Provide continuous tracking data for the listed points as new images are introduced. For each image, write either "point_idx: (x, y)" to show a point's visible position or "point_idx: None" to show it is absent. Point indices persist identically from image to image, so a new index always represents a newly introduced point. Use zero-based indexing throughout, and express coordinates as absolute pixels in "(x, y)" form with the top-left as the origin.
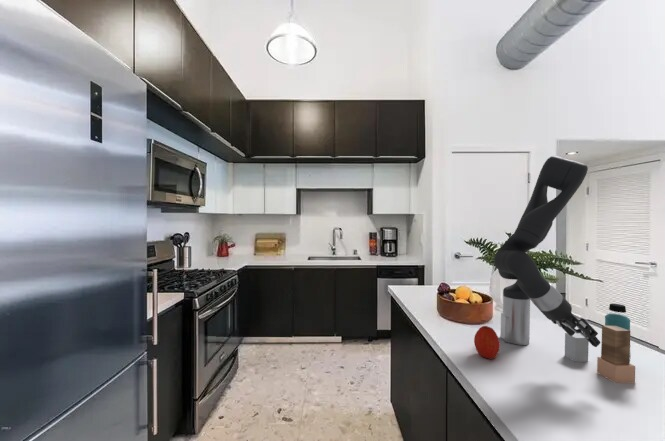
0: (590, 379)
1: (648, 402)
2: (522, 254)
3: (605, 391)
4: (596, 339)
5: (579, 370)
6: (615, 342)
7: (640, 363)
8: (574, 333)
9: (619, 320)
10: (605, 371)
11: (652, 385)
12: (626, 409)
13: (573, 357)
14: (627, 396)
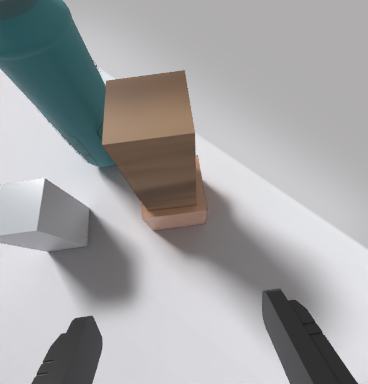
0: (196, 281)
1: (292, 217)
2: None
3: (262, 288)
4: (325, 343)
5: (142, 274)
6: (195, 169)
7: None
8: (95, 322)
9: (55, 31)
10: (175, 223)
11: (205, 151)
12: (352, 303)
13: (75, 245)
14: (275, 246)
